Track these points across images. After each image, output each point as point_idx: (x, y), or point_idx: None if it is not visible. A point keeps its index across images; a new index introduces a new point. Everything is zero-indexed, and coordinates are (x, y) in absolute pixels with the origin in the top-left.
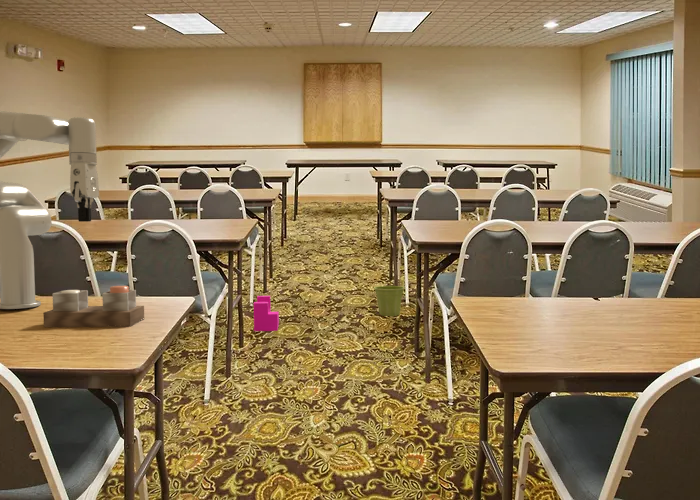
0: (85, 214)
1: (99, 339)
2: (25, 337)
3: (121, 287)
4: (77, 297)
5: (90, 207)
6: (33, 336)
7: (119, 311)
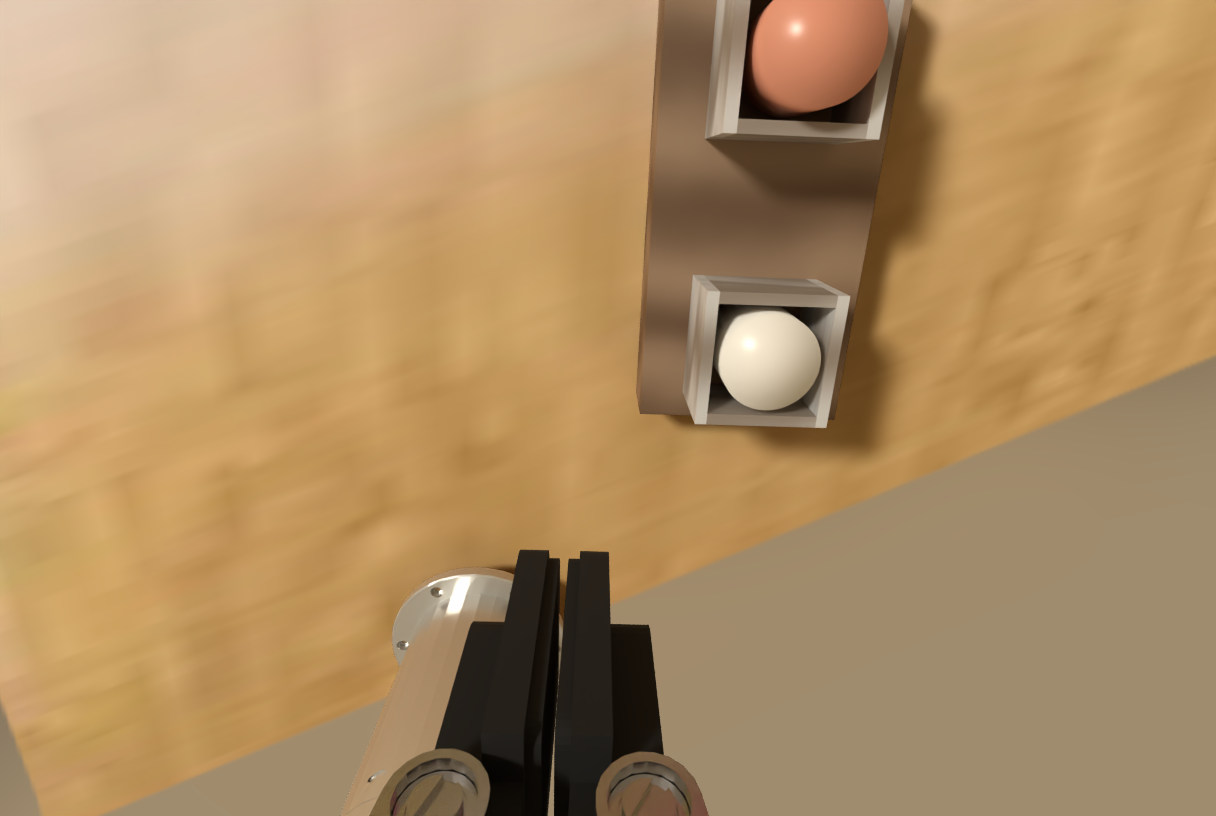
0: (642, 668)
1: (1190, 28)
2: (1030, 371)
3: (878, 2)
4: (842, 292)
5: (423, 772)
6: (1018, 350)
7: None
